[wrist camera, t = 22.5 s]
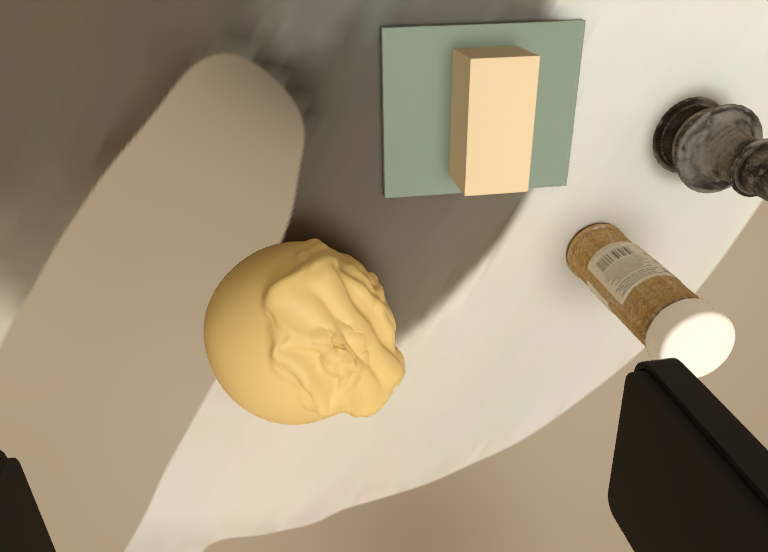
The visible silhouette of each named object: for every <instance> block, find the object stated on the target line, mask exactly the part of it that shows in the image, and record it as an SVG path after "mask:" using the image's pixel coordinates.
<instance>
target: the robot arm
mask: <svg viewBox="0 0 768 552" xmlns="http://www.w3.org/2000/svg"><path fill="white" fill-rule="evenodd" d="M608 501H609V506H610V509H611V512H612V514H613V516H614V518H615V520H616V522H617V523H618V524H619V527H620V528H621V530H622V532H623V533H624V535H625V537H626V538H627V540H628V542H629V543H630V545H631V547H632V548H633V550H634V552H768V450H767V449H766V448H765V447H764V446H763V445H762V444H761V443H760V442H759V441H758V440H757V439H756V438H755V437H754V436H753V435H752V434H751V433H750V432H749V431H748V430H747V428H745V426H744V425H743V424H741V422H740V421H739V420H738V419H737V418H736V417H735V416H734V415H733V414H732V413H731V412H730V411H729V410H728V409H727V408H726V407H725V406H724V405H723V404H722V403H721V402H720V401H719V400H718V399H717V398H716V397H715V396H714V395H713V394H712V393H711V392H710V391H709V390H708V388H707V387H706V386H705V385H704V384H703V383H702V382H701V381H700V380H699V379H698V378H697V377H696V376H695V375H694V374H693V373H692V372H691V371H690V370H689V369H688V368H687V367H686V366H685V365H684V364H683V363H682V362H681V361H680V360H678V359H677V358H666V359H659V360H651V361H645V362H640V363H638V364H637V365H636V367H635V370H634V372H631V373H629V374H628V375H627V376H626V380H625V385H624V393H623V398H622V405H621V411H620V418H619V425H618V431H617V438H616V444H615V451H614V457H613V464H612V471H611V477H610V483H609V490H608ZM0 552H56V551H55V548H54V546H53V543H52V541H51V538H50V536H49V534H48V531H47V529H46V526H45V524H44V521H43V519H42V516H41V514H40V511H39V509H38V507H37V504H36V502H35V499H34V497H33V494H32V492H31V489H30V487H29V484H28V482H27V479H26V477H25V474H24V472H23V469H22V467H21V465H20V463H19V461H18V460H17V459H16V458H7V457H6V455H5V453H4V452H2V451H1V450H0Z"/></svg>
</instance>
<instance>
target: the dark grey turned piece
mask: <svg viewBox="0 0 768 552" xmlns="http://www.w3.org/2000/svg"><path fill="white" fill-rule="evenodd" d="M653 150H654V155H655V157H656V159H657V161H658V163H659V164H660V165H662V166H663V167H664V168H665V169H667V170H669V171H672V172H678V174H679V176H680V178H681V180H682V182H683V183H684V184H685V185H686V186H687V187H688V188H690V189H692V190H695V191H697V192H701V193H713V192H719V191H722V190H724V189H727V188H729V187H731V186H732V187H733V189H734V190H735V191H736V192H737V193H738V194H741V195H743V196H747V197H754V196H759V197H761V198H762V199H764V200H766V201H768V139H763V133H762V126H761V123H760V121H759V118H758V117H757V116H756V115H755V114H754V112H753V111H752V110H750V109H748V108H746V107H744V106H742V105H736V104H727V105H720V106H719V105H718V104H717V103H716V102H714V101H712V100H710V99H708V98H702V97H695V98H688V99H686V100H684V101H681V102H679V103H678V104H676V105H675V106H673V107H672V108H671V109H670V110H669V111H668V112H667V113H666V114H665V115H664V116H663V117H662V119H661V121H660V122H659V124H658V126H657V128H656V131H655V134H654V138H653Z"/></svg>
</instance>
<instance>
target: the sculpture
mask: <svg viewBox="0 0 768 552" xmlns="http://www.w3.org/2000/svg"><path fill="white" fill-rule="evenodd" d="M395 330H396V323H395V320H394V316H393V314H392V312H391V310H390V308H389V306H388V304H387V302H386V300H385V297H384V291H383V287H382V286H381V284H379V283H378V278H377V276H376V275H375V274H374V273H372V272H367V271H366V269H365V268H364V266H363V265H362V264H361V263H359V262H358V261H357V260H356V259H354V258H353V257H352V256H350V255H348V254H345V253H339V252H338V251H336V250H334V249H332V248H330V247H328V246H327V245H326V244H324V243H322V241H320V240H319V239H310V240H307V241H294V242H285V243H280V244H276V245H272V246H269V247H266V248H264V249H261V250H259V251H257V252H255V253H253V254H252V255H250V256H248V257H247V258H245V259H244V260H243V261H241V262H240V263H239V264H237V265H236V266H235V267H234V268H233V269H232V270H231V271H230V272H229V273H228V274H227V275H226V276H225V277H224V279H223V280H222V281H221V282H220V284H219V285H218V287H217V288H216V290H215V292H214V294H213V295H212V298H211V300H210V302H209V305H208V308H207V311H206V315H205V321H204V342H205V348H206V353H207V356H208V359H209V363H210V365H211V368H212V370H213V372H214V374H215V376H216V378H217V380H218V381H219V383H220V384H221V386H222V387H223V389H224V390H225V391H226V392H227V394H228V395H229V396H230V397H231V398H232V399H233V400H234V401H235V402H236V403H237V404H239V405H240V406H241V407H242V408H244V409H245V410H247V411H248V412H250V413H252V414H254V415H255V416H258V417H260V418H262V419H265V420H268V421H271V422H275V423H280V424H289V425H297V424H307V423H313V422H317V421H320V420H324V419H326V418H329V417H331V416H334V415H336V414H338V413H342V412H343V413H347V414H350V415H351V416H354V417H369V416H371V415H373V414H375V413H377V412H378V411H379V410H380V409H381V408H382V407H383V406H384V405H385V403H386V402H387V401H388V399H389V398H390V396H391V395H392V392H393V389H394V388H395V387H396V386H398V385H399V384H400V382H401V381H402V379H403V377H404V374H405V363H404V357H403V355H402V353H401V352H400V351H399V350H398V348H397V347H396V346H395Z"/></svg>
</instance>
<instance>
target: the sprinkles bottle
mask: <svg viewBox="0 0 768 552" xmlns="http://www.w3.org/2000/svg"><path fill="white" fill-rule="evenodd" d="M567 259H568V264H569V266H570V268H571V270H572V271H573V273H574V274H575V275H576V276H578V277H580V278H581V279H582V280H583V281H584V282H585V283H586V284H587V285H588V286H589V288H590V290H591V291H592V292H593V293H594V294H595V295H596V296H597V298H598V299H599V300H600V301H601V302H602V303H603V304H604V305H605V306H606V307H607V308H608V309H609V310H610V311H611V312H612V313H614V314H615V315H616V316H617V317H618V318H619V319H620V320H621V321H622V323H623V324H625V326H626V327H627V328H628V329H629V330H630V331H631V332H632V333H633V334H634V335H635V336H636V337H637V338H638V339H639V340H640V341H641V343H643V344H644V345H645V347H646V349H647V352H648V354H649V355H650V357H651V358H652V359H653V360H659V359H666V358H677V359H678V360H680V361H681V362H682V363H683V364H684V365H685V366H686V367H687V368H688V369H689V370H690V371H691V372H692V373H693V374H694V375H695V376H696V377H697V378H698V377H702V376H704V375H706V374H708V373H710V372H712V371H713V370H715V369H716V368H717V367H719V366H720V365H721V364H722V363H723V362H724V361H725V360H726V358H727V357H728V355H729V354H730V352H731V350H732V348H733V345H734V341H735V330H734V327H733V324H732V322H731V321H730V320H729V319H728V317H726V316H725V315H724V314H723V313H722V312H721V311H720V310H718V309H717V308H716V307H715V306H713V305H712V304H711V303H710V302H708V301H705V300H703V299H700V298H699V297H698V296H697V295H695V294H694V293H693V292H692V291H690V290H689V289H688V288H687V287H686V286H685V285H683V284H682V282H681V281H680V280H679V279H678V278H676V277H675V276H674V275H673V274H672V273H670V272H669V271H668V270H667V269H666V268H664V267H663V266H662V265H661V264H659V263H658V262H657V261H656V260H655V259H653V258H652V257H651V256H650V255H648V254H647V253H646V252H645V251H644V250H642V249H641V248H640V247H639V246H637V245H636V244H634V243H632V242H631V241H630V240H629V239H628V238H626V237H625V236H624V234H623V233H622V232H621V231H620V230H619V229H618V228H616V227H615V226H613V225H609V224H595V225H592V226H589V227H588V228H586V229H584V230H582V231H581V232H580V233H579V234H578V235H577V236H576V237H575V238H574V239H573V241H572V242H571V244H570V247H569V250H568V254H567Z"/></svg>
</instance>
